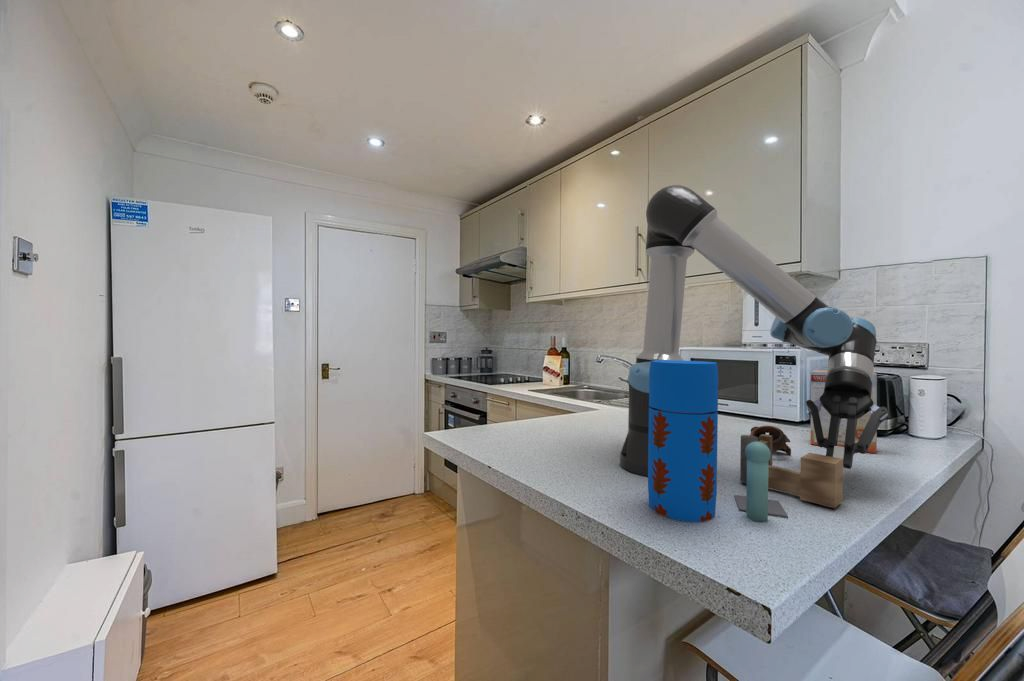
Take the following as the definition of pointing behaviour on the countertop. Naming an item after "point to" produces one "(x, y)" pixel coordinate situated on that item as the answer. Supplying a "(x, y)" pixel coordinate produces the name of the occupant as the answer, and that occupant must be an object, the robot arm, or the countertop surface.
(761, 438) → the fence
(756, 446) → the post
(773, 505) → the pad
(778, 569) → the countertop surface
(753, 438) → the wooden u-shaped block
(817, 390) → the cracker box
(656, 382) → the thermos
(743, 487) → the countertop surface
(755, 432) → the pottery mug
